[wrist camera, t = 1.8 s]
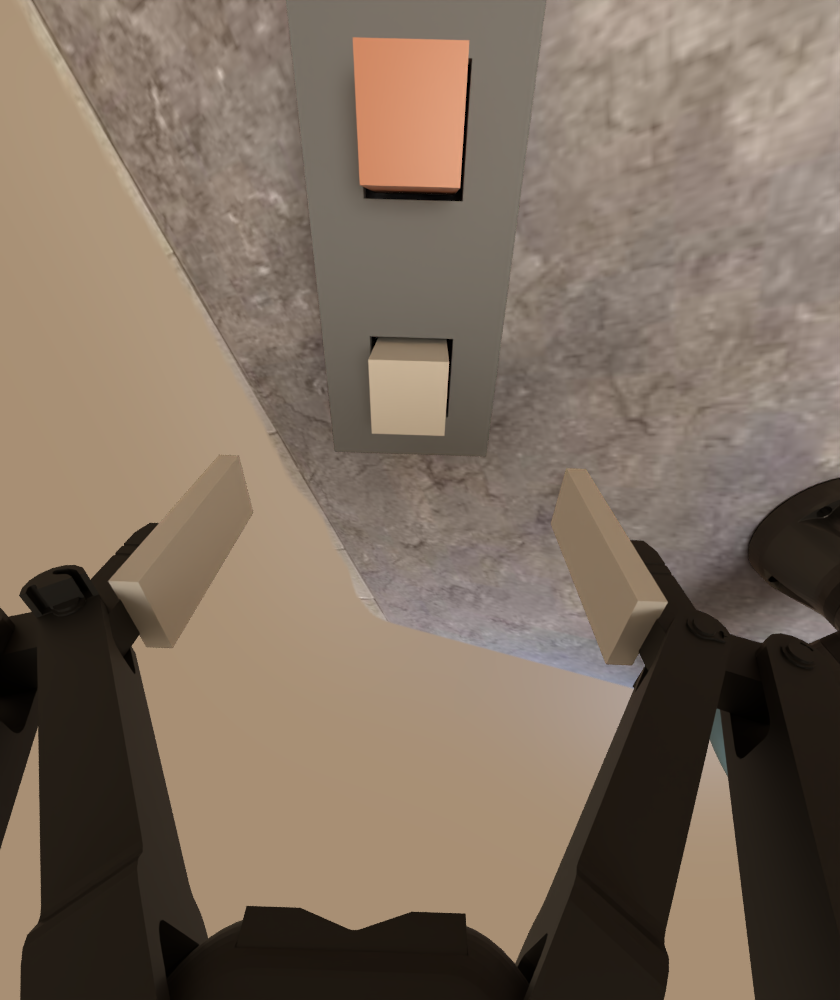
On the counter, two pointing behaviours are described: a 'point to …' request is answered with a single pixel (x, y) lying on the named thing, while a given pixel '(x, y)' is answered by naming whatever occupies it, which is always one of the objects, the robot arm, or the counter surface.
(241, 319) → the counter surface
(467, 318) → the block
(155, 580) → the robot arm
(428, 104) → the terracotta plug
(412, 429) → the cream cube
